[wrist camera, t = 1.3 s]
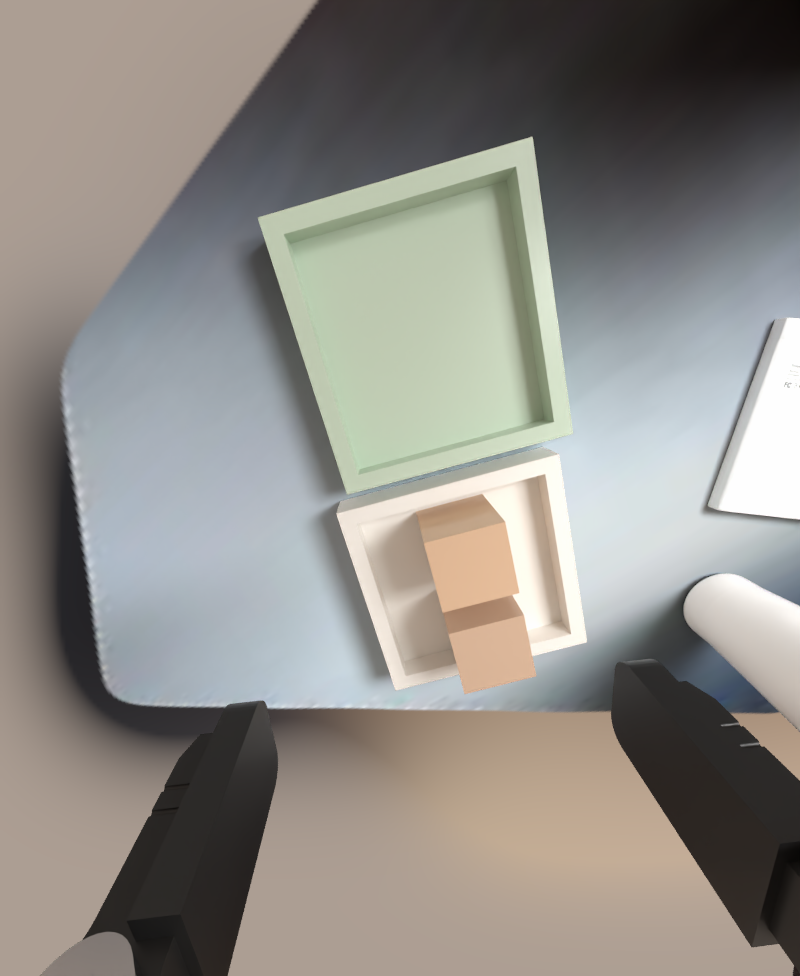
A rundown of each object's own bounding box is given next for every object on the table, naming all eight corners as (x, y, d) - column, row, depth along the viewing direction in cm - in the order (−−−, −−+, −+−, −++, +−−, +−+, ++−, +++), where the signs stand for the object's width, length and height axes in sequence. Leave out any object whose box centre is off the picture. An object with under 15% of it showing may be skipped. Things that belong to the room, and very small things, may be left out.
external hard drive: (700, 503, 28) (766, 319, 25) (802, 514, 29) (880, 337, 26) (718, 511, 27) (792, 316, 23) (826, 522, 27) (913, 335, 24)
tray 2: (542, 446, 26) (558, 454, 24) (570, 620, 30) (587, 642, 28) (340, 501, 26) (336, 513, 24) (394, 665, 30) (395, 690, 28)
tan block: (499, 572, 27) (524, 615, 23) (510, 625, 29) (536, 676, 24) (436, 588, 28) (448, 634, 23) (450, 640, 29) (464, 694, 24)
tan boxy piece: (482, 493, 26) (505, 521, 21) (495, 553, 27) (519, 593, 22) (415, 511, 26) (423, 543, 21) (431, 570, 27) (442, 612, 22)
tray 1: (515, 162, 21) (532, 136, 19) (555, 428, 26) (573, 433, 23) (271, 234, 22) (257, 217, 19) (350, 483, 26) (347, 494, 24)
